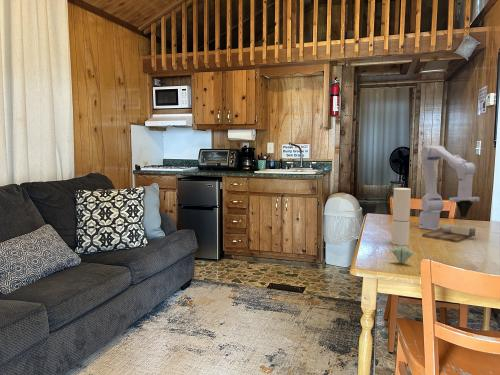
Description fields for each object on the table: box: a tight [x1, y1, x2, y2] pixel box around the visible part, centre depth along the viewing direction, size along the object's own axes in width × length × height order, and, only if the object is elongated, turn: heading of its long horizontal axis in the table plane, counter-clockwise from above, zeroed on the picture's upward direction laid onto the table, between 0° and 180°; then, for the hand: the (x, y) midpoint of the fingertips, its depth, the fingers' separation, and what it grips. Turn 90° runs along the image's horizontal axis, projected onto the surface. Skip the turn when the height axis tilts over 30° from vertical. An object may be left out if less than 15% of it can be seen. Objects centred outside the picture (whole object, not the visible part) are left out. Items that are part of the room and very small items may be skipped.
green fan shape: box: [390, 245, 414, 265], centre depth 144 cm, size 8×4×7 cm, turn 57°
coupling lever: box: [442, 223, 476, 237], centre depth 185 cm, size 14×4×3 cm, turn 41°
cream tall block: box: [391, 187, 412, 246], centre depth 173 cm, size 7×7×25 cm
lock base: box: [421, 227, 472, 243], centre depth 188 cm, size 16×22×2 cm
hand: (463, 216), depth 182 cm, fingers closed
